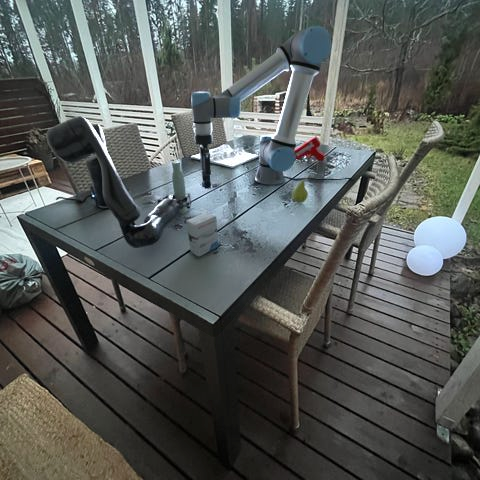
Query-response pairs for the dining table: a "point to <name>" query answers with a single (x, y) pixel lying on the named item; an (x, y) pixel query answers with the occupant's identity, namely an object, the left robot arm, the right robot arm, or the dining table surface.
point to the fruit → (300, 192)
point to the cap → (203, 184)
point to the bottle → (178, 183)
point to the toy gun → (310, 150)
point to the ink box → (202, 233)
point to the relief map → (228, 156)
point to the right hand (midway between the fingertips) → (206, 186)
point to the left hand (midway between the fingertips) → (182, 194)
